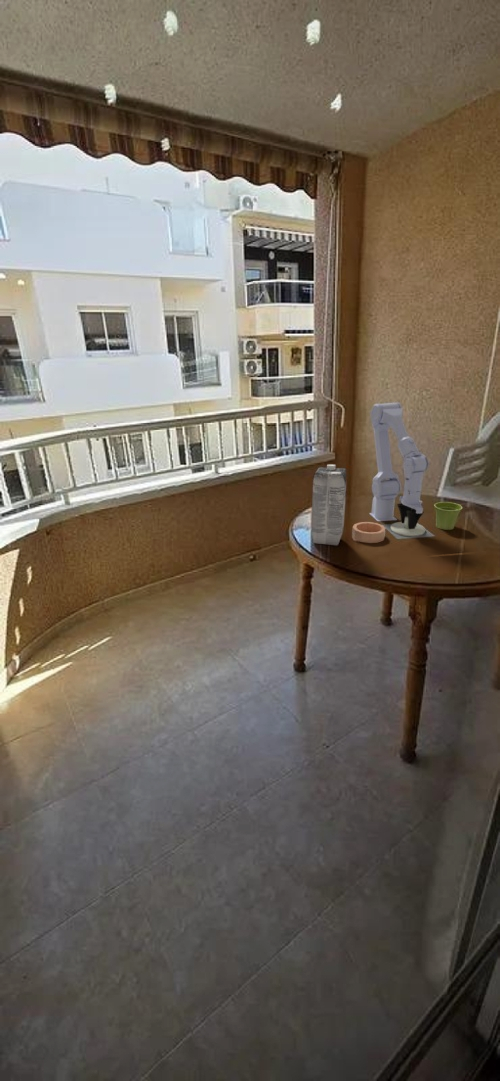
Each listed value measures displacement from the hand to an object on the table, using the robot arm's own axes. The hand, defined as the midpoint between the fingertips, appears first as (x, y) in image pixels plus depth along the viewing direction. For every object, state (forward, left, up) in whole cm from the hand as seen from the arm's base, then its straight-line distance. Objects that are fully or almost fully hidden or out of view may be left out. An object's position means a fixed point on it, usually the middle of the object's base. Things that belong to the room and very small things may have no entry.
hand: (408, 525), depth 159 cm
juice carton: (+3, -31, -3) cm, 31 cm away
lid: (0, 0, -2) cm, 2 cm away
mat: (0, 0, -2) cm, 2 cm away
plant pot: (-1, +15, -3) cm, 15 cm away
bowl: (+3, -16, -2) cm, 16 cm away
